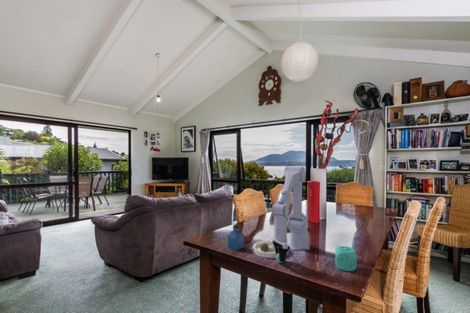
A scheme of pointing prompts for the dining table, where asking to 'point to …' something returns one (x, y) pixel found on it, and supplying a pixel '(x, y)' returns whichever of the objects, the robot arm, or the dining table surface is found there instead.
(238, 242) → the perfume bottle
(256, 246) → the tray
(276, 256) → the teal bead
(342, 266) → the decorative dice
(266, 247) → the walnut bead
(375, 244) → the dining table surface
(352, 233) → the dining table surface
